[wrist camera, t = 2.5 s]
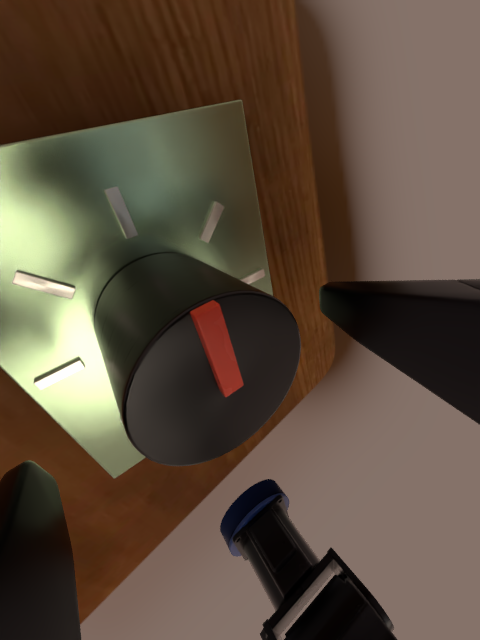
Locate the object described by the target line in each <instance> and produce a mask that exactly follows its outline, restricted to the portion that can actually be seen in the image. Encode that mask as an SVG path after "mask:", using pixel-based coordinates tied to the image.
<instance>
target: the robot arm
mask: <svg viewBox="0 0 480 640" xmlns="http://www.w3.org/2000/svg"><path fill="white" fill-rule="evenodd" d="M319 298H320V309H321V311H322V313H323V314H324V315H325V316H327V317H328V318H329V319H330V320H331V321H333V322H334V323H335V324H336V325H338V326H339V327H340V328H341V329H342V330H343V331H345V332H346V333H347V334H349V335H350V336H351V337H352V338H353V339H355V340H356V341H357V342H359V343H360V344H362V345H363V346H365V347H366V348H368V349H369V350H370V351H372V352H374V353H375V354H376V355H378V356H379V357H381V358H382V359H384V360H385V361H387V362H388V363H390V364H391V365H393V366H394V367H396V368H397V369H398V370H400V371H401V372H403V373H405V374H406V375H407V376H409V377H410V378H412V379H413V380H415V381H416V382H418V383H419V384H421V385H422V386H424V387H425V388H426V389H428V390H429V391H431V392H432V393H434V394H435V395H437V396H438V397H440V398H441V399H443V400H444V401H446V402H447V403H449V404H450V405H452V406H453V407H455V408H456V409H457V410H459V411H461V412H462V413H463V414H465V415H467V416H468V417H469V418H471V419H472V420H474V421H475V422H477V423H478V424H480V279H476V280H475V279H471V280H470V279H469V280H413V281H354V282H329V283H327V284H325V285H323V286H322V287H321V288H320V290H319ZM232 541H233V543H234V544H235V546H236V547H237V549H238V550H239V552H240V553H241V555H242V556H243V558H244V559H245V560H249V562H250V564H251V566H252V567H253V569H254V571H255V573H256V575H257V577H258V579H259V581H260V582H261V584H262V586H263V588H264V590H265V592H266V593H267V596H268V597H269V599H270V601H271V603H272V605H273V607H274V609H275V611H276V612H275V613H274V614H273V615H272V616H271V617H270V619H269V620H268V619H267V620H266V621H265V622H264V623H263V627H264V628H263V630H262V632H261V633H260V635H261V638H262V640H282V639H281V637H280V634H281V633H282V632H283V631H284V629H286V627H287V626H288V625H289V624H290V623H291V621H292V620H293V619H294V618H295V617H296V616H297V614H298V613H299V612H300V611H301V610H302V608H303V607H304V606H305V605H306V604H307V602H308V601H309V600H310V599H311V598H312V597H313V595H314V594H315V593H316V592H317V591H318V590H319V588H320V587H321V586H322V585H323V583H324V582H325V581H326V580H327V579H328V578H329V577H330V575H331V574H332V573H333V572H334V573H335V574H336V575H334V576H333V578H332V579H331V580H330V581H329V582H328V584H327V585H326V586H325V587H324V588H323V590H322V591H321V592H320V593H319V595H318V596H317V597H316V598H315V599H314V600H313V602H312V603H311V604H310V605H309V606H308V608H307V609H306V610H305V611H304V612H303V614H302V615H301V616H300V617H299V618H298V619H297V621H296V622H295V623H294V624H293V625H292V627H291V628H290V629H289V630H288V631H287V632H286V634H285V635H286V638H285V639H284V640H397V639H396V637H395V636H394V635H393V633H392V631H393V630H394V626H393V624H392V622H391V620H390V619H389V617H388V616H387V614H386V613H385V611H384V610H383V608H382V607H381V606H380V604H379V603H378V602H377V600H376V599H375V598H374V596H373V595H372V594H371V593H370V592H369V591H368V589H367V588H366V587H365V586H364V585H363V583H362V582H361V581H360V580H359V579H358V578H357V577H356V575H355V574H354V573H353V572H352V571H351V570H350V568H349V567H348V566H347V565H346V564H345V563H344V562H343V560H342V559H341V558H340V557H339V556H338V555H337V553H336V552H335V551H334V550H333V549H332V548H330V549H329V550H328V551H327V554H326V555H325V556H324V557H323V559H322V560H321V561H320V560H319V559H318V558H317V556H316V555H315V553H314V552H313V550H312V549H311V548H310V546H309V545H308V544H307V542H306V541H305V539H304V538H303V537H302V535H301V534H300V532H299V531H298V530H297V528H296V527H295V525H294V524H293V523H292V521H291V520H290V519H289V516H288V513H287V509H286V505H285V502H284V498H283V497H282V495H281V494H279V495H278V496H276V497H275V498H274V499H273V500H272V501H271V502H270V503H269V504H268V505H267V506H266V507H265V508H263V509H262V510H261V511H260V512H259V513H258V514H257V515H256V516H255V517H254V518H253V519H251V520H250V521H249V522H248V523H247V524H246V525H245V526H244V527H243V528H242V529H241V530H239V531H238V532H237V533H236V534H235V535H234V536H233V538H232ZM0 640H81V633H80V622H79V611H78V601H77V591H76V581H75V571H74V561H73V553H72V547H71V542H70V537H69V533H68V529H67V524H66V520H65V516H64V511H63V507H62V503H61V498H60V494H59V490H58V485H57V483H56V481H55V479H54V478H53V476H51V475H50V474H49V473H48V472H46V471H45V470H44V469H42V468H41V467H40V466H39V465H37V464H36V463H35V462H33V461H30V460H29V461H25V462H23V463H21V464H19V465H18V466H16V467H14V468H13V469H11V470H9V471H8V472H7V473H6V474H5V475H4V476H3V478H2V479H1V481H0Z"/></svg>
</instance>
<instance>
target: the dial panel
mask: <svg viewBox="0 0 480 640" xmlns="http://www.w3.org/2000/svg"><path fill="white" fill-rule="evenodd" d="M161 253H176V254H183V255H187V256H190V257H193V258H195V259H198V260H200V261H202V262H204V263H206V264H208V265H210V266H212V267H214V268H216V269H218V270H220V271H222V272H224V273H226V274H228V275H231V276H233V277H235V278H237V279H239V280H241V281H243V282H245V283H247V284H249V285H251V286H253V287H255V288H257V289H259V290H261V291H264V292H266V293H268V294H270V295H272V296H273V291H272V285H271V279H270V273H269V266H268V260H267V254H266V248H265V241H264V235H263V229H262V223H261V216H260V210H259V204H258V197H257V191H256V185H255V179H254V172H253V166H252V160H251V154H250V147H249V141H248V135H247V129H246V122H245V116H244V110H243V103H242V100H240V99H239V100H233V101H228V102H223V103H218V104H212V105H207V106H202V107H196V108H191V109H186V110H181V111H175V112H170V113H165V114H159V115H154V116H149V117H144V118H138V119H133V120H128V121H123V122H117V123H112V124H107V125H101V126H96V127H91V128H86V129H80V130H75V131H70V132H64V133H59V134H54V135H49V136H43V137H38V138H33V139H28V140H22V141H17V142H12V143H6V144H1V145H0V368H1V369H2V370H3V371H4V372H5V373H6V374H8V375H9V376H10V377H11V378H12V379H13V380H14V381H15V382H16V383H17V384H18V385H19V386H20V387H21V388H22V389H23V390H24V391H25V392H26V393H27V394H28V395H29V396H30V397H31V398H32V399H33V400H34V401H35V402H36V403H37V404H38V405H39V406H40V407H41V408H42V409H43V410H44V411H45V412H46V413H47V414H48V415H49V416H50V417H52V418H53V419H54V420H55V421H56V422H57V423H58V424H59V425H60V426H61V427H62V428H63V429H64V430H65V431H66V432H67V433H68V434H69V435H70V436H71V437H72V438H73V439H74V440H75V441H76V442H77V443H78V444H79V445H80V446H81V447H82V448H83V449H84V450H85V451H86V452H87V453H88V454H89V455H90V456H91V457H92V458H93V459H95V460H96V461H97V462H98V463H99V464H100V465H101V466H102V467H103V468H104V469H105V470H106V471H107V472H108V473H109V474H110V475H111V476H112V477H113V478H114V479H115V478H116V477H118V476H119V475H121V474H122V473H124V472H125V471H127V470H128V469H130V468H131V467H132V466H134V465H135V464H137V463H138V462H140V461H141V460H143V459H144V458H146V457H145V456H143V455H142V454H141V453H140V452H139V451H138V450H137V449H136V448H135V447H134V446H133V445H132V443H131V442H130V440H129V439H128V437H127V434H126V432H125V429H124V426H123V423H122V420H121V416H120V413H119V410H118V407H117V403H116V400H115V397H114V393H113V390H112V387H111V384H110V380H109V377H108V374H107V370H106V367H105V364H104V361H103V357H102V354H101V351H100V348H99V344H98V341H97V338H96V332H95V314H96V309H97V305H98V302H99V300H100V297H101V295H102V293H103V291H104V290H105V288H106V287H107V285H108V284H109V282H110V281H111V280H112V279H113V278H114V277H115V276H116V275H117V274H118V273H119V272H120V271H121V270H123V269H124V268H125V267H127V266H128V265H130V264H132V263H133V262H135V261H137V260H140V259H142V258H144V257H148V256H151V255H155V254H161Z"/></svg>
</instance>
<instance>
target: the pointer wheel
mask: <svg viewBox="0 0 480 640" xmlns="http://www.w3.org/2000/svg"><path fill="white" fill-rule="evenodd" d="M95 332H96V338H97V341H98V344H99V348H100V351H101V354H102V357H103V361H104V364H105V367H106V370H107V374H108V377H109V380H110V384H111V387H112V390H113V393H114V397H115V400H116V403H117V407H118V410H119V413H120V416H121V420H122V423H123V426H124V429H125V432H126V434H127V437H128V439H129V440H130V442H131V443H132V445H133V446H134V447H135V448H136V449H137V450H138V451H139V452H140V453H141V454H142V455H143V456H145V457H147V458H148V459H150V460H152V461H154V462H157V463H159V464H164V465H169V466H188V465H194V464H199V463H203V462H206V461H209V460H212V459H215V458H217V457H219V456H222V455H224V454H225V453H227V452H229V451H231V450H233V449H234V448H236V447H238V446H239V445H241V444H242V443H243V442H245V441H246V440H248V439H249V438H250V437H251V436H252V435H254V434H255V433H256V432H257V431H258V430H259V429H260V428H261V427H262V426H263V425H264V424H265V423H266V422H267V421H268V420H269V419H270V418H271V416H272V415H273V414H274V413H275V411H276V410H277V409H278V407H279V406H280V404H281V403H282V401H283V400H284V398H285V396H286V395H287V393H288V391H289V389H290V387H291V385H292V382H293V380H294V377H295V375H296V371H297V368H298V364H299V359H300V350H301V341H300V333H299V329H298V326H297V323H296V320H295V318H294V317H293V315H292V313H291V312H290V310H289V309H288V308H287V307H286V305H284V304H283V303H282V302H281V301H280V300H278V299H277V298H275V297H273V296H272V295H270V294H268V293H266V292H264V291H261V290H259V289H257V288H255V287H253V286H251V285H249V284H247V283H245V282H243V281H241V280H239V279H237V278H235V277H233V276H231V275H228V274H226V273H224V272H222V271H220V270H218V269H216V268H214V267H212V266H210V265H208V264H206V263H204V262H202V261H200V260H198V259H195V258H193V257H190V256H187V255H183V254H176V253H161V254H155V255H151V256H148V257H144V258H142V259H140V260H137V261H135V262H133V263H132V264H130V265H128V266H127V267H125V268H124V269H123V270H121V271H120V272H119V273H118V274H117V275H116V276H115V277H114V278H113V279H112V280H111V281H110V282H109V284H108V285H107V287H106V288H105V290H104V291H103V293H102V295H101V297H100V300H99V302H98V305H97V309H96V314H95Z"/></svg>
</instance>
